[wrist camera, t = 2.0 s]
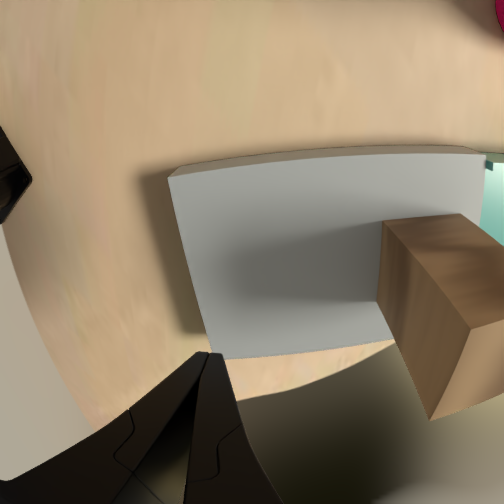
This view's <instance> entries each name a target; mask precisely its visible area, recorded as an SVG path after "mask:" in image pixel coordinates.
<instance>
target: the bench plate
mask: <svg viewBox="0 0 504 504" xmlns="http://www.w3.org/2000/svg"><path fill="white" fill-rule="evenodd" d="M485 170H486V155H485V154H483V153H480V152H477V151H474V150H472V149H469V148H466V147H463V146H439V145H389V146H359V147H340V148H324V149H311V150H299V151H289V152H279V153H270V154H261V155H253V156H245V157H237V158H230V159H223V160H216V161H210V162H203V163H197V164H191V165H185V166H180V167H179V168H177V169H176V170H175V171H174V172H173V173H172V174H171V175H170V176H169V177H167V178H168V183H169V188H170V192H171V197H172V201H173V206H174V210H175V215H176V219H177V223H178V228H179V232H180V236H181V240H182V244H183V248H184V252H185V256H186V260H187V264H188V268H189V272H190V275H191V279H192V283H193V287H194V290H195V294H196V298H197V301H198V305H199V308H200V312H201V316H202V319H203V323H204V326H205V329H206V333H207V336H208V340H209V343H210V346H211V349H212V352H213V353H222V354H223V357H224V360H226V359H242V358H256V357H268V356H278V355H288V354H297V353H306V352H314V351H322V350H329V349H336V348H343V347H350V346H356V345H362V344H368V343H374V342H379V341H385V340H390V339H394V337H393V335H392V333H391V331H390V329H389V327H388V325H387V323H386V320H385V318H384V316H383V314H382V312H381V310H380V308H379V306H378V304H377V302H376V299H377V290H378V279H379V268H380V254H381V238H382V220H391V219H402V218H413V217H424V216H436V215H447V214H459V213H461V214H462V215H463V216H465V217H466V218H468V219H469V220H470V221H472V222H473V223H474V224H476V225H477V226H478V227H479V224H480V217H481V210H482V202H483V193H484V183H485Z"/></svg>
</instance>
